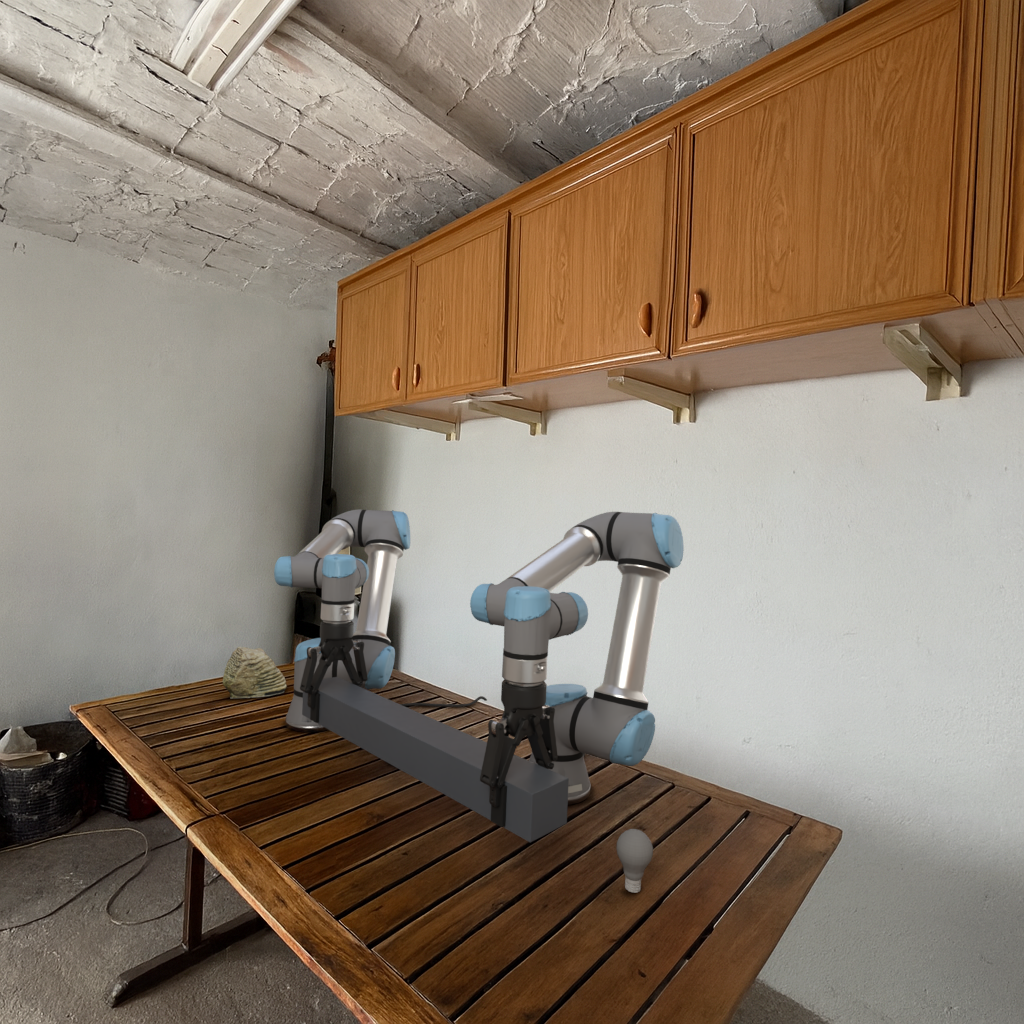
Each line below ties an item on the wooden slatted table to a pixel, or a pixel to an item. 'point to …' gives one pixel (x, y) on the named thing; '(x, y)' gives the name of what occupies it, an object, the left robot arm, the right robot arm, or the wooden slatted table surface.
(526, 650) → the right robot arm
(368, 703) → the long dark gray bar
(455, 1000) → the wooden slatted table surface
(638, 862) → the light bulb
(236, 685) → the fossil
